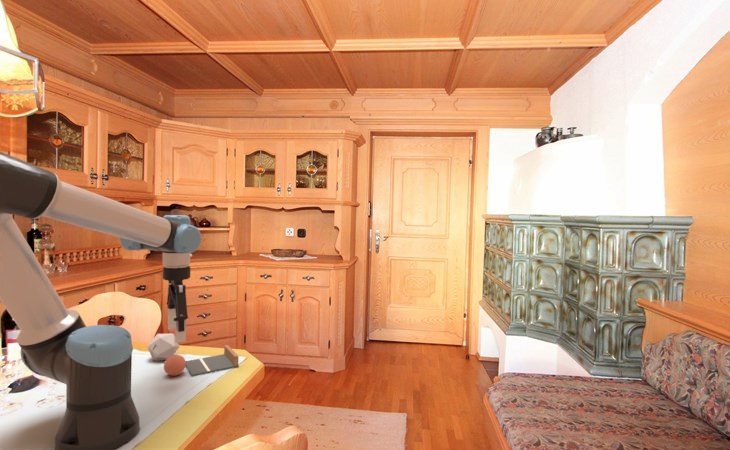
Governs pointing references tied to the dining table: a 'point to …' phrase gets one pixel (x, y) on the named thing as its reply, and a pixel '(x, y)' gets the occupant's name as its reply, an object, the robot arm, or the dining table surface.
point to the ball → (174, 365)
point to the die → (163, 346)
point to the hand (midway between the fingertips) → (176, 335)
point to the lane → (213, 363)
